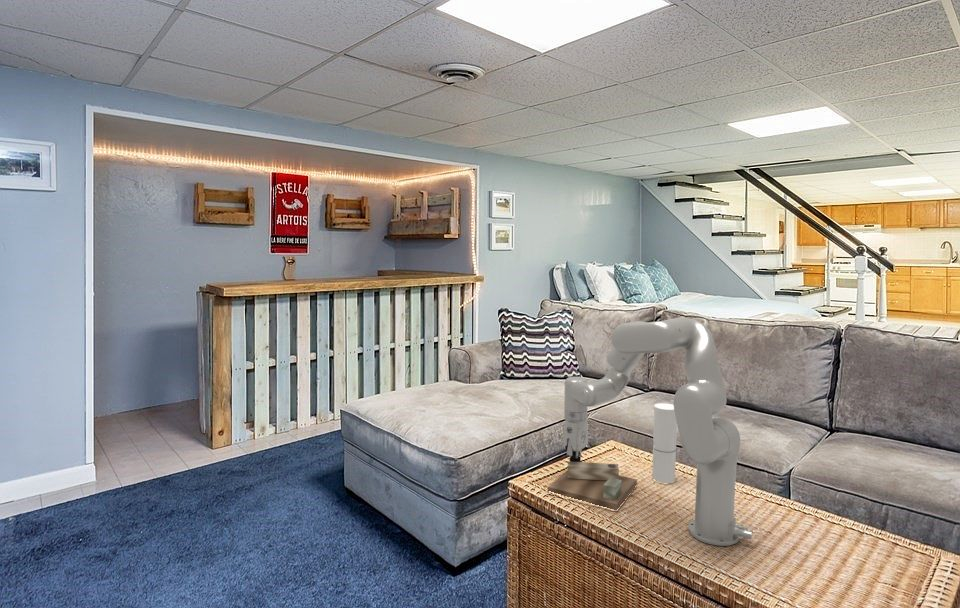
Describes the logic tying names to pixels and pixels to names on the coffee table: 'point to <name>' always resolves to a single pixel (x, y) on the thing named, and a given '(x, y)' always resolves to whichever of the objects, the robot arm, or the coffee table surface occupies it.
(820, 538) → the coffee table surface
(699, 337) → the robot arm
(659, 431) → the cylindrical container
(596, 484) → the brown board with blocks
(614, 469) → the folding leg
